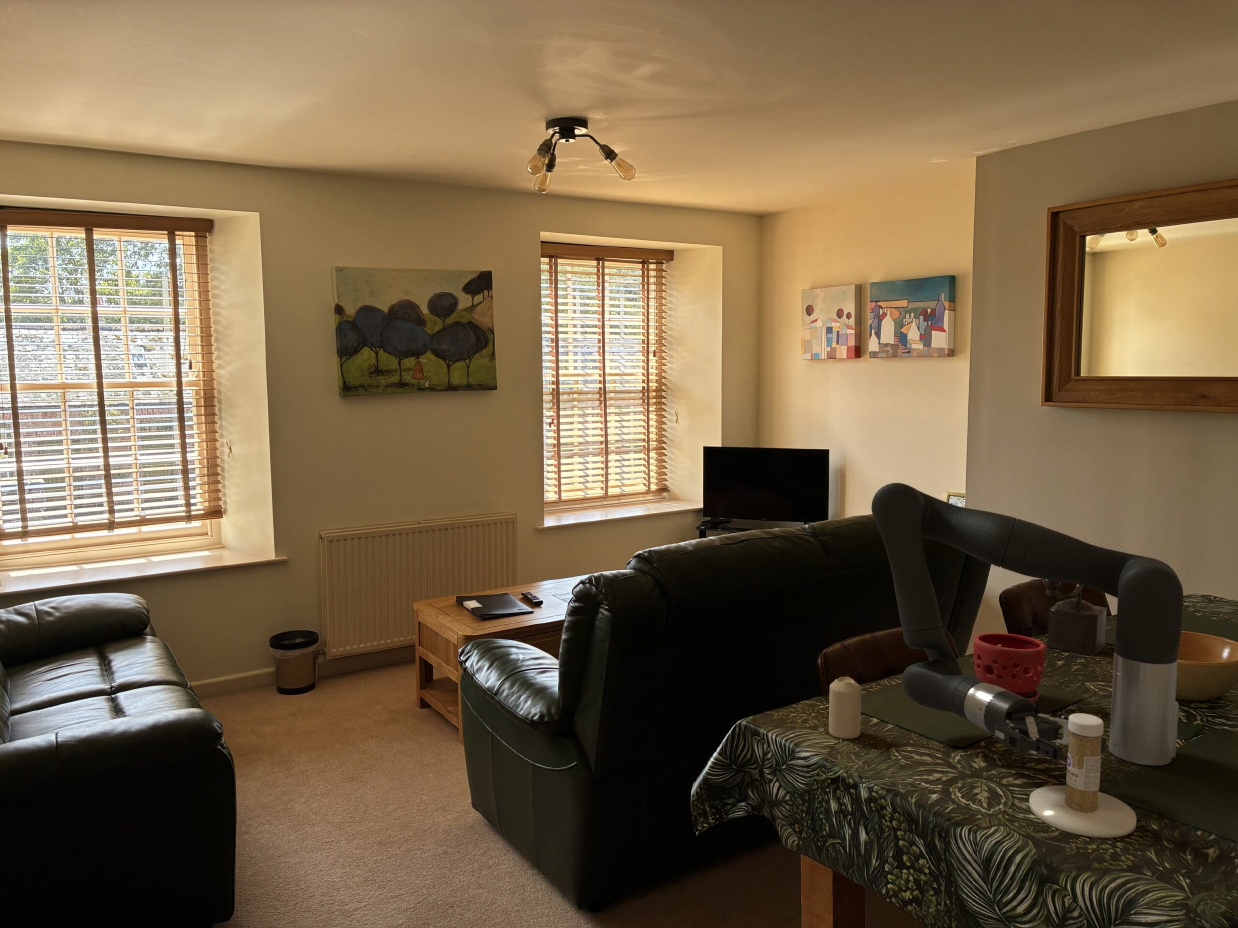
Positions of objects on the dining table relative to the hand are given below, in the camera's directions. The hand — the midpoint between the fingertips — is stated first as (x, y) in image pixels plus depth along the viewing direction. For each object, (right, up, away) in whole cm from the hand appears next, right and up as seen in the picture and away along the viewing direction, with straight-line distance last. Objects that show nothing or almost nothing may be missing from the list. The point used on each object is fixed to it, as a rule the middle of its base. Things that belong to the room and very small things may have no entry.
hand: (1082, 750), depth 134 cm
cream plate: (0, -9, +1) cm, 9 cm away
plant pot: (+9, -5, +48) cm, 49 cm away
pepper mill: (+38, -1, +79) cm, 88 cm away
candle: (-27, -7, +31) cm, 42 cm away
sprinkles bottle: (0, -9, +1) cm, 9 cm away
